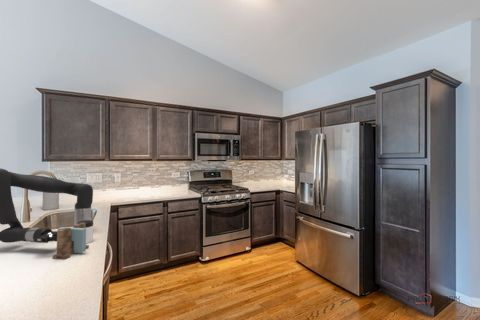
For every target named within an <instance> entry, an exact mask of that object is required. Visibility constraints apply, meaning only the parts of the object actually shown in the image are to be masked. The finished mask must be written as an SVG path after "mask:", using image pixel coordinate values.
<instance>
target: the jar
mask: <svg viewBox="0 0 480 320" xmlns="http://www.w3.org/2000/svg"><path fill="white" fill-rule="evenodd" d="M79 223H86V244H89V243H93V242H94V241H93V240H94V220H93V219H92V220H85V221H80V222H78V223H77V224H79Z"/></svg>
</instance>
